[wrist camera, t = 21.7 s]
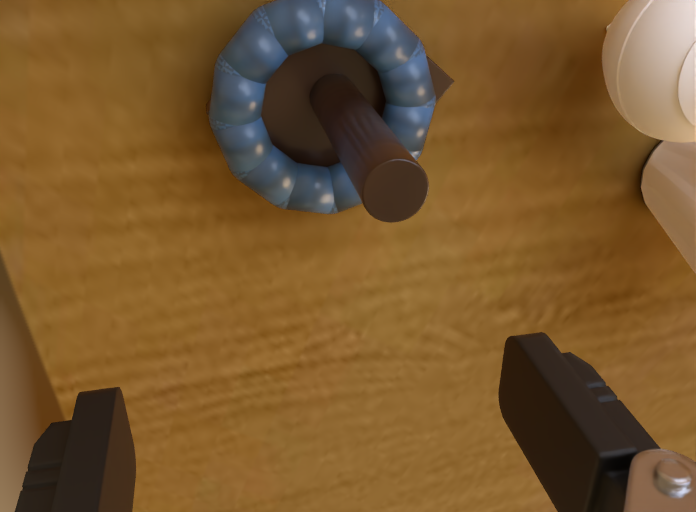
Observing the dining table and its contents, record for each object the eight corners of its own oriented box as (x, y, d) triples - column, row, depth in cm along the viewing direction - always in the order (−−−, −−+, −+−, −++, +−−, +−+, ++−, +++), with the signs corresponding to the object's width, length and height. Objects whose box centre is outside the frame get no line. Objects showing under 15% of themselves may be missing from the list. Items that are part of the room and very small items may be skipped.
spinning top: (685, -57, 34) (893, -33, 24) (660, 89, 38) (832, 163, 28) (547, -43, 33) (703, -11, 23) (536, 106, 37) (666, 189, 27)
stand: (205, 105, 33) (210, 220, 22) (317, -44, 31) (388, -4, 20) (337, 200, 37) (401, 339, 26) (445, 74, 35) (567, 165, 24)
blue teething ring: (164, 117, 32) (163, 133, 30) (309, -68, 29) (318, -65, 27) (329, 236, 37) (337, 257, 35) (466, 87, 34) (483, 99, 32)
